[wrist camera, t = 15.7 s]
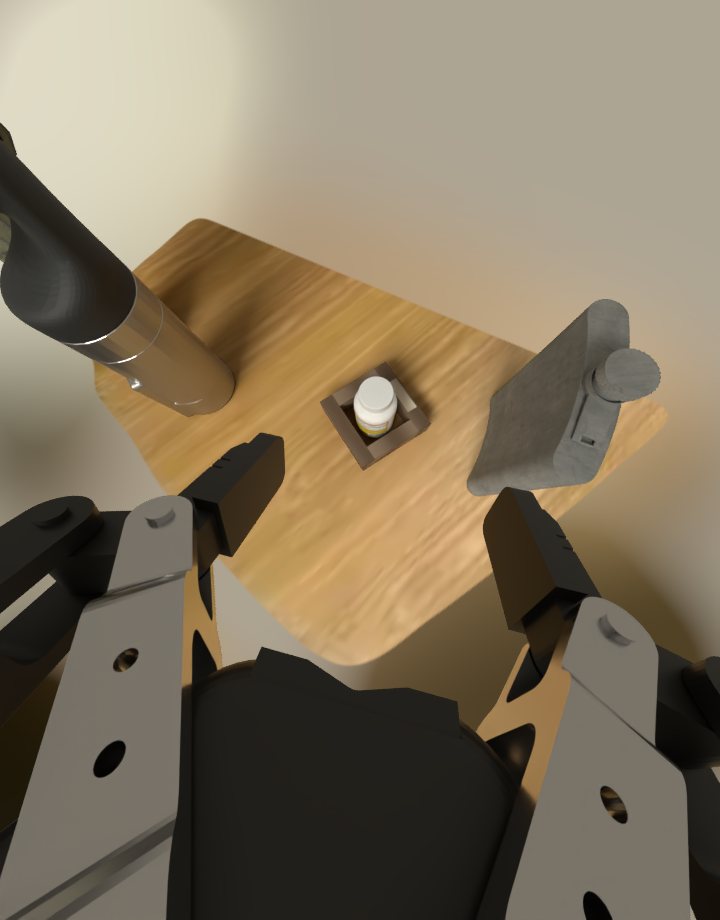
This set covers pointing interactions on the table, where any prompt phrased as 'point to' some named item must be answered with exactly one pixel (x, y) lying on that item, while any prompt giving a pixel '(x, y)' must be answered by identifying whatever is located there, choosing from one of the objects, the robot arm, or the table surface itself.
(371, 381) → the supplement bottle
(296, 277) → the table surface
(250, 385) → the table surface
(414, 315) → the table surface
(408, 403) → the socket block
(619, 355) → the hip flask
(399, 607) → the table surface
